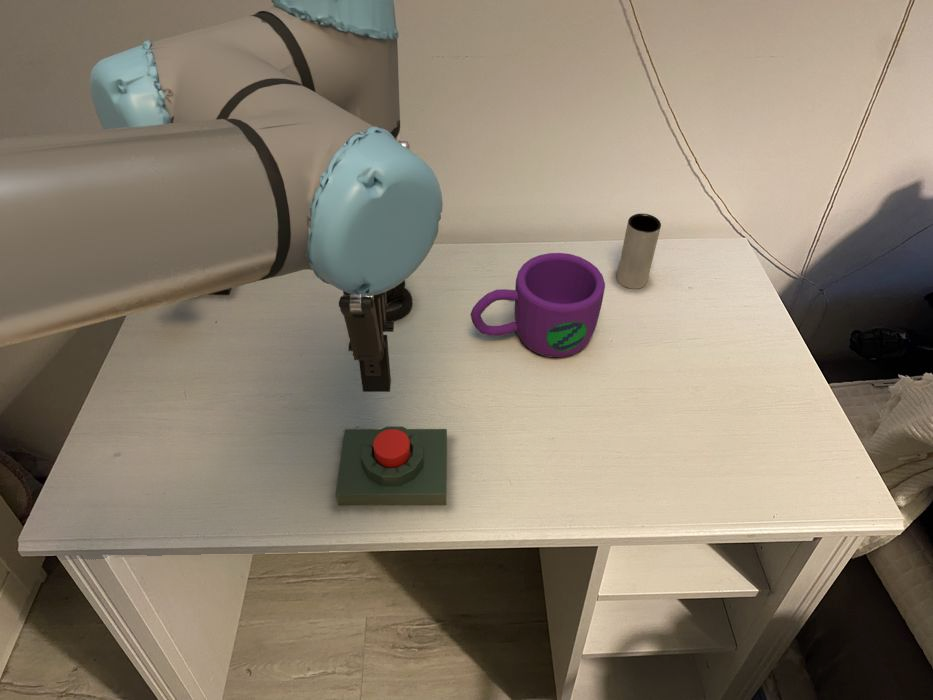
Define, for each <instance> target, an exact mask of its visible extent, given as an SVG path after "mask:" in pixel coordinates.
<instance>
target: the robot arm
mask: <svg viewBox="0 0 933 700" xmlns="http://www.w3.org/2000/svg"><path fill="white" fill-rule="evenodd" d="M270 2H271V3H272V4H273V5H272V6H271V7H269V8H267V9H262V10H259V11H257V12H255V13H254V14H250V15H249V16H245V17H241V18H238V19H233V20H231V21H226V22H223V23H218V24H215V25H210V26H207V27H204V28H200V29H195V30H191V31H189V32H184V33H181V34H177V35H173V36H170V37H165V38H162V39H158V40H155V41H152V40H151V39H148V40H144V41H143V43H142V44H141V45H140V44H139V45H137V46H135V47H132V48H130V49H126V50H124V51H121V52H118V53H115V54H113V55H110V56H108V57H104V58H102V59H100V60H99V61H97V63H96V64H95V65H94V66H93V68H92V69H91V72H90V76H89V88H90V95H91V99H92V100H91V101H92V104H93V106H94V109H95V113H96V115H97V118H98V121H99V123H100V125H101V127H102V129H95V130H94V129H92V130H82V131H70V132H69V131H68V132H58V133H49V134H48V133H47V134H36V135H35V134H34V135H25V136H23V135H22V136H14V137H3V138H0V349H2V348H5V347H9V346H13V345H17V344H21V343H24V342H25V343H26V342H29V341H32V340H37V339H40V338H45V337H49V336H52V335H55V334H60V333H63V332H67V331H68V332H69V331H72V330H74V329H75V330H76V329H79V328H83V327H87V326H91V325H94V324H98V323H102V322H106V321H109V320H113V319H117V318H121V317H122V318H123V317H125V316H130V315H132V314H137V313H142V312H145V311H148V310H152V309H157V308H159V307H163V306H167V305H171V304H175V303H179V302H183V301H187V300H190V299H193V298H198V297H203V296H206V295H211V294H210V293H214V292H218V291H222V290H226V289H229V288H231V289H233V288H237V287H240V286H244V285H248V284H252V283H256V282H259V281H260V282H261V281H264V280H268V279H272V278H276V277H283V276H286V275H289V274H290V275H291V274H294V273H297V272H300V271H305V270H310V271H312V272H313V274H314V276H315V277H316V278H318V279H319V280H320V281H321V282H322V283H324V284H327V285H331V286H333V287H335V288H337V289H338V290H340V291H342V295H341V296H340V297H339V300H338V308H339V309H340V312H341V314H342V315H343V318H344V322H345V326H346V331H347V335H348V339H349V342H348V348H347V349H348V352H351V353H352V357H353V360H354V361H358V366H359V373H360V381H361V389H362V392H363V393H390V392H391V386H392V377H391V376H392V375H391V365H390V353H389V352H390V351H389V342H388V334H384V333H394V330H395V328H394V327H395V320H394V321H386V317H385V314H386V313H387V311H389V304H388V305H387V301H386V291H388V290H390V289H392V288H394V287H396V286H397V285H399V284H400V283H402V282H403V281H404V280H405V281H406V280H407V279H408V278H410V276H412V275H413V274H414V273H415V272H416V271H417V270H418V268H419V267H420V266H421V265H422V263H423V262H424V261H425V259H426V258H427V256H428V255H429V253H430V252H431V249H432V248H433V246H434V244H435V241H436V239H437V236H438V233H439V223H440V221H441V219H442V213H443V205H444V204H443V194H442V189H441V184H440V182H439V179H438V177H437V176H436V174H435V172H434V170H433V169H432V167H430V165H429V164H428V163H427V162H426V161H425V160H423V158H422V157H420V156H418V155H417V154H415V153H414V152H413V151H411V145H410V143H409V141H407V140H400V139H401V111H400V110H401V108H400V107H401V106H400V80H399V53H398V52H399V51H398V49H399V48H398V39H399V36H400V35H399V30H398V27H397V20H396V13H395V12H396V9H395V1H394V0H271V1H270Z"/></svg>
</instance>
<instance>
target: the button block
mask: <svg viewBox="0 0 933 700" xmlns="http://www.w3.org/2000/svg"><path fill="white" fill-rule="evenodd" d="M389 429H396V430H400V431H402V432H404V433H405V434H406V435H407V436H408V438H409V441H410V457H409V459H408V460H407V461H406V462H405V463H404V464H402V465H401V466H398V467H392V468H391V467H385V466H382V465H381V464H379V463H378V462H377V460H376V458H375V454H374V447H373V443H374V440H375V438H376V436H377V435H378V434H380V433H381V432H383V431H385V430H389ZM447 465H448V429H447V428H407V427H404V426H384V427H382V428H344V431H343V439H342V446H341V453H340V459H339V467H338V473H337V482H336V488H335V498H336V503H337V506H446V505H447V483H448V482H447V480H448V479H447V477H448V476H447V474H448V471H447V470H448V466H447Z"/></svg>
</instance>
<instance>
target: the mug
mask: <svg viewBox="0 0 933 700" xmlns="http://www.w3.org/2000/svg"><path fill="white" fill-rule="evenodd" d="M605 289H606V282H605V279H604V276H603V274H602V273H601V271H600V270H599V268H598V267H597V266H595V264H594V263H592V262H591V261H589V260H587V259H585V258H583V257H581V256H577V255H575V254H571V253H564V252H548V253H544V254H539V255H536V256H534V257H532V258H530V259H529V260H527V261H525V262H524V263H523V264H522V265H521V266H520V268H519V270H518V272H517V274H516V278H515V287H514V289H504V288H503V289H502V288H501V289H495V290H492V291H490V292H487V293H486V294H484V296H482V297H481V298H480V299H479V300H478V301H477V302H476V303H475V304H474V305H473V307H472V309H471V312H470V319H471V323H472V324H473V326H474V328H475V329H476V330H477V331H478V332H479V333H480V334H481V335H486V336H490V337H498V336H499V337H500V336H505V335H509V334H513V333H514V332H516V334H517V335H518V337H519V339H520V341H521V343H523V345H524V346H525V347H527V349H529V350H531V351H532V352H534V353H535V354H538V355H541V356H543V357H548V358H549V357H550V358H565V357H570V356H573V355H576V354H577V353H580V352H581V351H582V350H583V349H584V348H585V347H587V346H588V345H589V343H590V341H591V339H592V337H593V335H594V333H595V331H596V328H597V326H598V325H597V324H598V322H599V317H600V313H601V310H602V305H603V300H604V295H605ZM497 301H510V302H511V301H512V302H514V320H512V321H510V322H508V323H505V324H499V325H489V324H487V323H485V321H484V319H483V318H482V314H483V313H484V312H485V311H486V309H487V308H488V307H489V306H490V305H491V304H493V303H495V302H497Z"/></svg>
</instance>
